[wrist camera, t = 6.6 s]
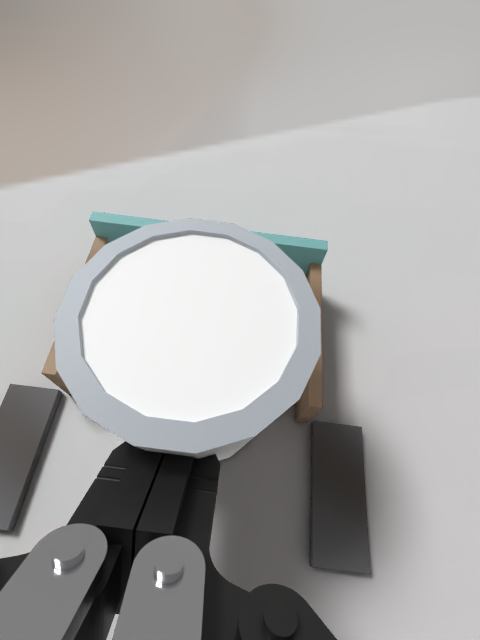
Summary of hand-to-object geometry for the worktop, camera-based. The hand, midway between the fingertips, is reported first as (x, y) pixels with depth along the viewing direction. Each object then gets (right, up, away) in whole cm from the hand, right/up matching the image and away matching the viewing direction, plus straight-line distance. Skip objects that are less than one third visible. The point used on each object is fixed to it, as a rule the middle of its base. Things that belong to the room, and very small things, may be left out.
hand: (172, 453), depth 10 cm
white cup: (0, +1, +5) cm, 5 cm away
